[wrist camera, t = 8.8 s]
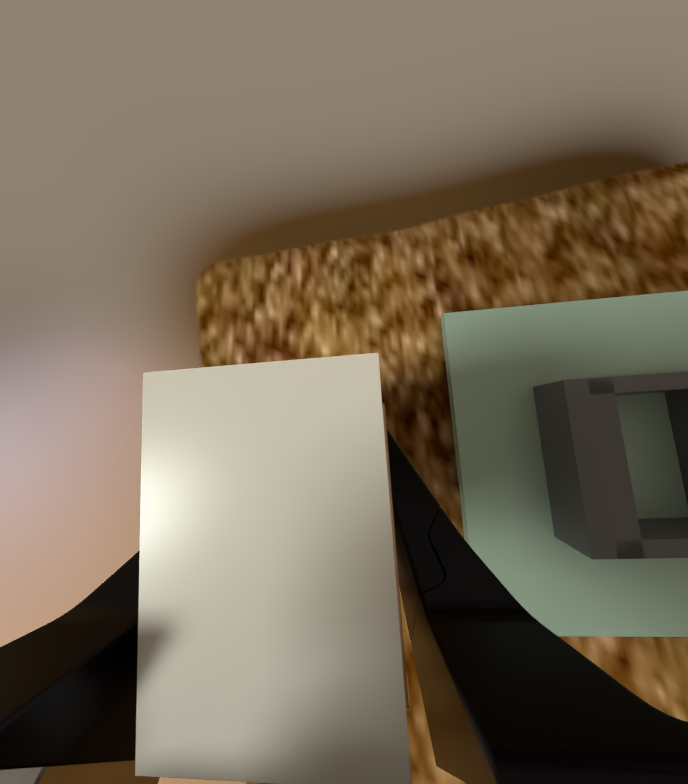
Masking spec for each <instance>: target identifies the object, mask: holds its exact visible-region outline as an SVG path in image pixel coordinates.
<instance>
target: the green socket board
mask: <svg viewBox="0 0 688 784" xmlns="http://www.w3.org/2000/svg"><path fill="white" fill-rule="evenodd" d="M441 326H442V335H443V345H444V354H445V363H446V373H447V382H448V391H449V400H450V410H451V419H452V428H453V438H454V447H455V456H456V466H457V475H458V484H459V493H460V503H461V512H462V521H463V531H464V539H465V541H466V542H467V543H468V544H469V545H470V547H471V548H472V549H473V550H474V552H475V553H476V554H477V555H478V556H479V557H480V559H481V560H482V561H483V562H484V563H485V564H486V566H487V567H488V568H489V569H490V570H491V571H492V573H493V574H494V575H495V576H496V577H497V578H498V580H499V581H500V582H501V583H502V584H503V585H504V587H505V588H506V589H507V590H508V591H509V592H510V593H511V595H512V596H513V597H514V598H515V599H516V600H517V601H518V602H519V603H520V604H521V606H522V607H523V608H524V609H525V610H526V611H527V612H529V613H530V614H531V615H532V616H533V617H534V618H535V619H536V620H537V621H539V622H540V623H541V624H542V625H544V626H545V627H546V628H548V629H549V630H550V631H552V632H553V633H554V634H555V635H557V636H623V637H688V291H678V292H667V293H656V294H646V295H635V296H624V297H613V298H603V299H592V300H581V301H571V302H560V303H549V304H538V305H528V306H517V307H506V308H495V309H485V310H474V311H463V312H453V313H444V314H443V316H442V317H441Z"/></svg>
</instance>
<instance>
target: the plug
mask: <svg viewBox="0 0 688 784" xmlns="http://www.w3.org/2000/svg"><path fill="white" fill-rule="evenodd" d="M141 458H142V459H141V509H140V556H139V606H138V656H137V706H136V756H135V776H149V777H168V778H186V779H205V780H223V781H224V780H225V781H241V782H260V783H278V784H412V779H411V766H410V753H409V741H408V728H407V715H406V708H409V705H408V692H407V679H406V667H405V654H404V642H403V629H402V617H401V604H400V591H399V579H398V566H397V554H396V541H395V528H394V516H393V503H392V491H391V478H390V466H389V453H388V440H387V428H386V415H385V404H382V396H381V384H380V371H379V358H378V353H369V354H358V355H346V356H334V357H322V358H310V359H299V360H287V361H275V362H263V363H251V364H240V365H228V366H216V367H204V368H192V369H181V370H169V371H157V372H146V373H143V408H142V457H141Z"/></svg>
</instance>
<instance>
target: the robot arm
mask: <svg viewBox="0 0 688 784" xmlns="http://www.w3.org/2000/svg"><path fill="white" fill-rule="evenodd" d="M387 440H388V453H389V466H390V478H391V491H392V503H393V516H394V528H395V541H396V554H397V566H398V579H399V586H400V591H401V596H402V601H403V606H404V611H405V615H406V620H407V625H408V630H409V635H410V640H411V641H412V642H411V645H412V649H413V654H414V659H415V664H416V669H417V673H418V678H419V683H420V688H421V693H422V698H423V702H424V707H425V712H426V717H427V722H428V727H429V731H430V736H431V741H432V746H433V751H434V756H435V761H436V765H437V767H439V768H441V769H443V770H444V771H446V772H448V773H450V774H451V775H453V776H455V777H457V778H459V779H460V780H462V781H464V782H466V783H467V784H688V722H686V721H682V720H679V719H677V718H674V717H672V716H669V715H667V714H665V713H663V712H661V711H660V710H658V709H656V708H654V707H652V706H651V705H649V704H648V703H646V702H645V701H643V700H642V699H640V698H639V697H638V696H636V695H635V694H633V693H632V692H631V691H629V690H628V689H627V688H625V687H624V686H623V685H621V684H620V683H619V682H617V681H616V680H615V679H614V678H612V677H611V676H610V675H608V674H607V673H606V672H604V671H603V670H602V669H600V668H599V667H598V666H596V665H595V664H594V663H592V662H591V661H590V660H588V659H587V658H586V657H585V656H583V655H582V654H581V653H579V652H578V651H577V650H575V649H574V648H573V647H571V646H570V645H569V644H567V643H566V642H565V641H563V640H562V639H561V638H559V637H558V636H557V635H555V634H554V633H553V632H552V631H550V630H549V629H548V628H546V627H545V626H544V625H542V624H541V623H540V622H539V621H537V620H536V619H535V618H534V617H533V616H532V615H531V614H530V613H529V612H527V611H526V610H525V609H524V608H523V607H522V606H521V604H520V603H519V602H518V601H517V600H516V599H515V598H514V597H513V596H512V595H511V593H510V592H509V591H508V590H507V589H506V588H505V587H504V585H503V584H502V583H501V582H500V581H499V580H498V578H497V577H496V576H495V575H494V574H493V573H492V571H491V570H490V569H489V568H488V567H487V566H486V564H485V563H484V562H483V561H482V560H481V559H480V557H479V556H478V555H477V554H476V553H475V552H474V550H473V549H472V548H471V547H470V545H469V544H468V543H467V542H466V541H465V539H464V538H463V537H462V536H461V534H460V533H459V532H458V530H457V529H456V528H455V526H454V525H453V524H452V522H451V521H450V519H449V518H448V517H447V515H446V514H445V512H444V511H443V509H442V508H440V505H439V504H438V502H437V501H436V499H435V498H434V496H433V495H432V494H431V492H430V491H429V489H428V488H427V486H426V485H425V483H424V482H423V481H422V479H421V478H420V476H419V475H418V473H417V472H416V470H415V469H414V467H413V466H412V465H411V463H410V462H409V460H408V459H407V457H406V456H405V454H404V453H403V452H402V450H401V449H400V447H399V446H398V444H397V443H396V441H395V440H394V438H393V437H392V436H391V434H390V433H389V431H388V430H387ZM139 556H140V551H138V552H137V553H136V554H135V555H134V556H133V557H132V558H131V559H130V560H128V561H127V562H126V563H125V564H124V565H123V566H122V567H121V568H119V569H118V570H117V571H116V572H115V573H114V574H113V575H111V576H110V577H109V578H108V579H107V580H106V581H105V582H104V583H102V584H101V585H100V586H99V587H98V588H97V589H96V590H95V591H94V592H92V593H91V594H90V595H89V596H88V597H87V598H85V599H84V600H83V601H82V602H81V603H79V604H78V605H77V606H75V607H74V608H73V609H71V610H70V611H68V612H67V613H65V614H64V615H62V616H61V617H59V618H57V619H56V620H54V621H52V622H50V623H48V624H47V625H44V626H42V627H40V628H38V629H36V630H34V631H32V632H30V633H28V634H26V635H25V636H22V637H20V638H18V639H16V640H14V641H12V642H10V643H8V644H6V645H4V646H2V647H0V784H158V781H159V778H160V777H149V776H135V756H136V706H137V656H138V606H139Z"/></svg>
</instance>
